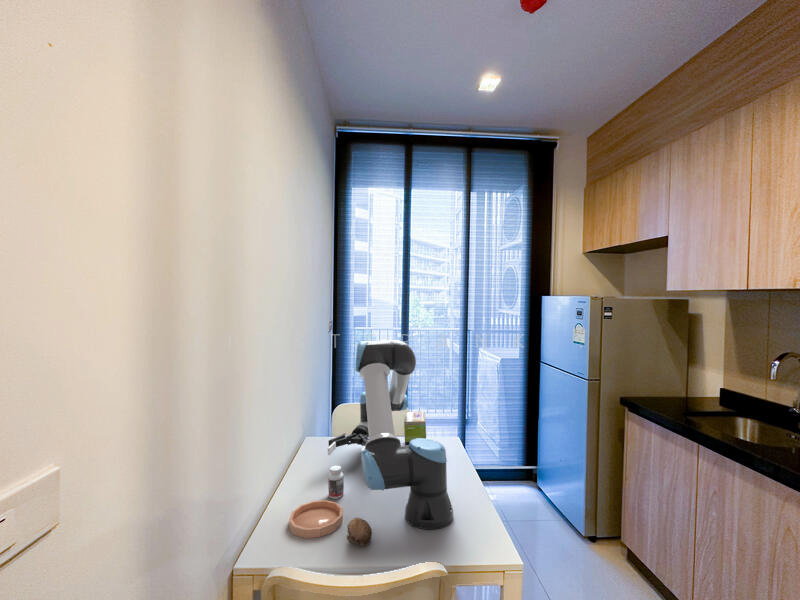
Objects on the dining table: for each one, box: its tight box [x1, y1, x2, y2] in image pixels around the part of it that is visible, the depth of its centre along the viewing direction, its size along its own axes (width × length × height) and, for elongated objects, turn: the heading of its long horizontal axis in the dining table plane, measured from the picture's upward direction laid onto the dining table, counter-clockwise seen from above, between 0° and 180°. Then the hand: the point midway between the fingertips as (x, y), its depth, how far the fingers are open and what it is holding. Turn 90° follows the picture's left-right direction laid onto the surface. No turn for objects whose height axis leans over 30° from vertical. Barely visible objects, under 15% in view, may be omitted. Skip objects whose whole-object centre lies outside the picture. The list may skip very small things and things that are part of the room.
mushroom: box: [346, 517, 373, 547], centre depth 105 cm, size 8×8×6 cm
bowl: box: [288, 499, 344, 539], centre depth 115 cm, size 16×16×2 cm
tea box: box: [403, 411, 427, 447], centre depth 175 cm, size 15×10×15 cm, turn 178°
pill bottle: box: [327, 465, 345, 500], centre depth 131 cm, size 5×5×10 cm
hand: (345, 452), depth 141 cm, fingers open, 13 cm apart
